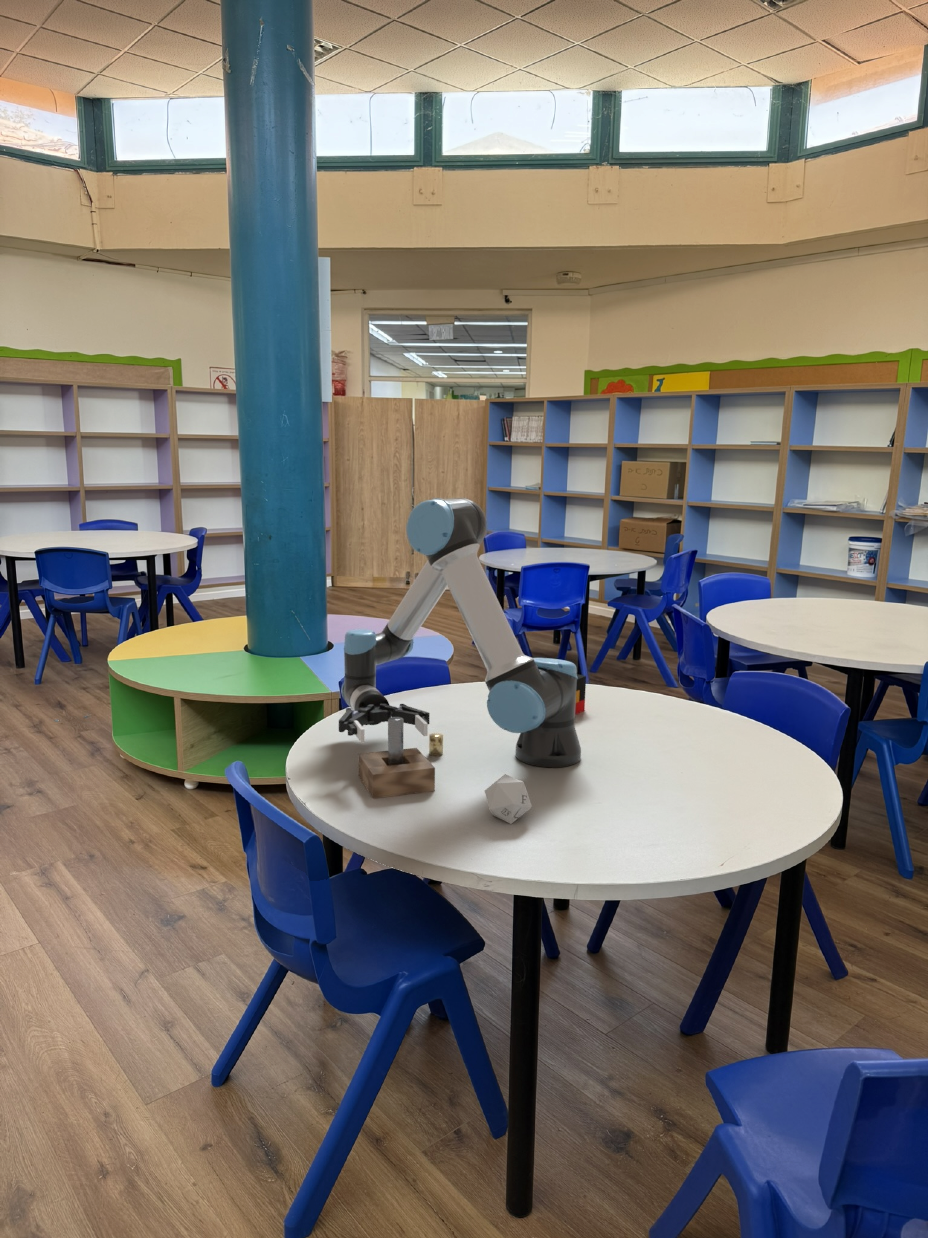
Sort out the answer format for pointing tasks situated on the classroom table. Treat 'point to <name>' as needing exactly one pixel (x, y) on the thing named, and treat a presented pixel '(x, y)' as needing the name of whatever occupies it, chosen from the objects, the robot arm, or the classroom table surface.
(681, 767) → the classroom table surface
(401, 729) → the long metal pin
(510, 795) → the die
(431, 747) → the short brass pin
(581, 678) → the puzzle toy
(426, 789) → the hole block
